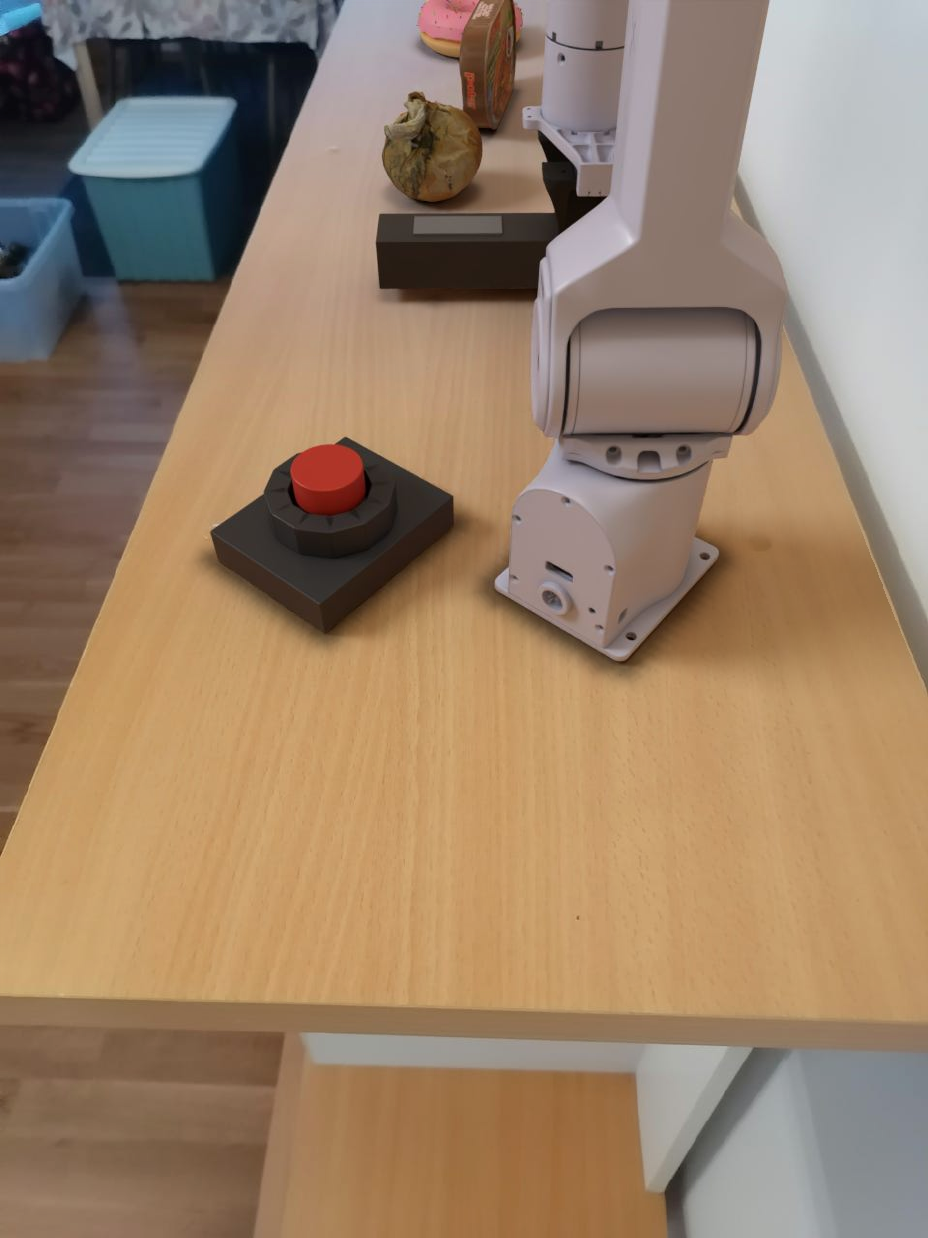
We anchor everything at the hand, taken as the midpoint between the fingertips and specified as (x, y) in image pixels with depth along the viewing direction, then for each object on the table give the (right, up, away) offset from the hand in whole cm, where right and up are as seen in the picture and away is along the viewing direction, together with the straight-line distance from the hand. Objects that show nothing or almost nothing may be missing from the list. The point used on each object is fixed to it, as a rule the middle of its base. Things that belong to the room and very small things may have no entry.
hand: (575, 251), depth 66 cm
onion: (-10, +9, +12) cm, 18 cm away
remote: (-6, -1, +1) cm, 6 cm away
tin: (-5, +22, +23) cm, 32 cm away
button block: (-15, -22, -15) cm, 30 cm away
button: (-15, -19, -18) cm, 30 cm away
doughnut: (-7, +35, +34) cm, 49 cm away
